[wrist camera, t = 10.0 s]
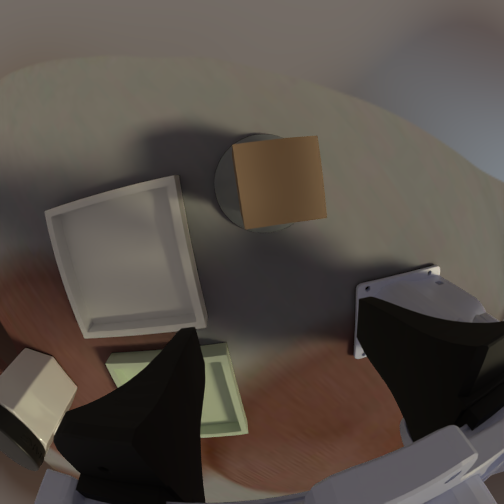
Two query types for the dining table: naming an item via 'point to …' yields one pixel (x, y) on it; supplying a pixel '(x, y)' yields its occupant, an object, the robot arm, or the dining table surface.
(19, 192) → the dining table surface
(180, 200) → the grey box
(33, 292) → the dining table surface
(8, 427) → the jar
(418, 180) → the dining table surface
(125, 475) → the robot arm
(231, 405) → the green box
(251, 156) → the walnut block
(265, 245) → the dining table surface
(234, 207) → the slate coaster
